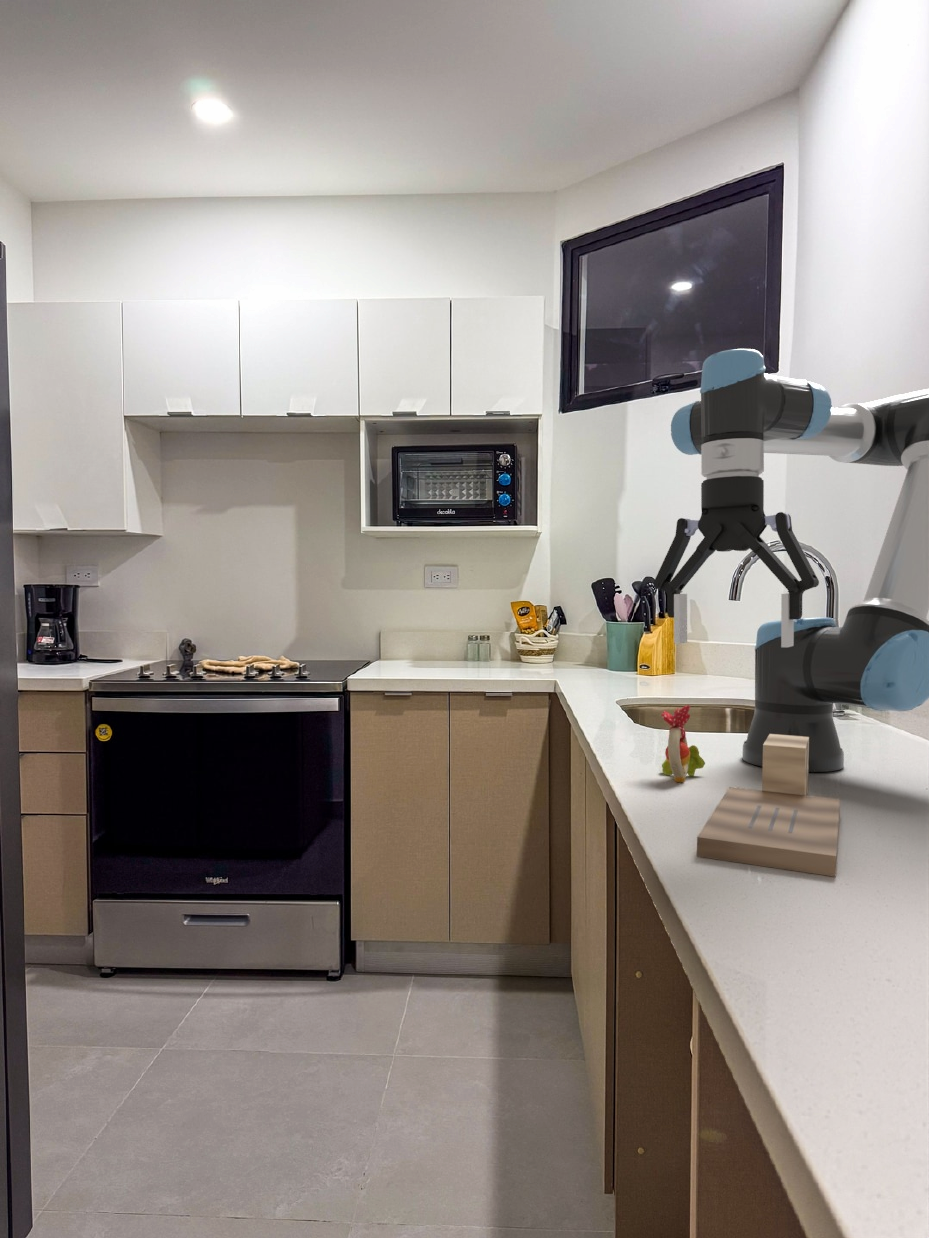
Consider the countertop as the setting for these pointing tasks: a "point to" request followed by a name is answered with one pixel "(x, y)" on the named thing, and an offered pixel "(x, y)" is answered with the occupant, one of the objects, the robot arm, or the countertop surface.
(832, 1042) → the countertop surface
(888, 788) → the countertop surface
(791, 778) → the block
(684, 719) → the bird rattle
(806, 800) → the walnut board
